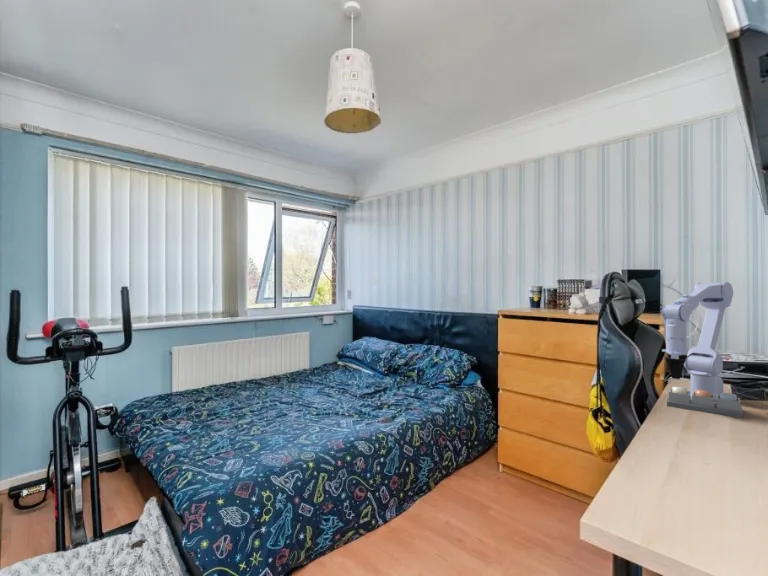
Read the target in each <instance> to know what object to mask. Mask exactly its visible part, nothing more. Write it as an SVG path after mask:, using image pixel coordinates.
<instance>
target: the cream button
mask: <svg viewBox="0 0 768 576" xmlns="http://www.w3.org/2000/svg"><path fill="white" fill-rule="evenodd" d="M671 389H672V392H674V393H681V394H687V391H688V388H686V387H683V386H672V387H671Z"/></svg>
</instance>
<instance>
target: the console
mask: <svg viewBox="0 0 768 576" xmlns="http://www.w3.org/2000/svg"><path fill="white" fill-rule="evenodd" d="M690 394H691V390H690V391H689V390H687V394H681V393H674V392H672V388H670V389H669V391H668V399H667V401H666V406H667V407H672V408H679V409H683V410H684V409H685V410H690V411H691V410H692V411H695V412H696V411H697V412H703V413H704V412H705V413H709V414H715V415H723V416H728V417H734V418H741V419H744V412H743V408H742V406H741V405H742V402H741V398H740V397H737V401H732V400H724V399H720V395H717V401H716V402H715V401H714V395H712V394H711V398H710V397H703V396H696V395H695V392H693V393H692V398H691V395H690Z"/></svg>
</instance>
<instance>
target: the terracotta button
mask: <svg viewBox="0 0 768 576" xmlns="http://www.w3.org/2000/svg"><path fill="white" fill-rule="evenodd" d="M695 395H696V396H703V397H710V398H711V392H710V391H707V390H695Z"/></svg>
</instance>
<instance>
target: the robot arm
mask: <svg viewBox="0 0 768 576" xmlns="http://www.w3.org/2000/svg"><path fill="white" fill-rule="evenodd" d="M733 297H734V287H733V285H732V284H731V283H730V282H729V281H724V282H697V283H696V284H695V285H694V288H693V291H692V292H690V294H682V295H681V297H679V298H678V299H676V300H675V301H674V302H672V303H669V304H666V305H664V306H663V307H662V309H661V316H662V319H663V323H664V325H665V346H666V347H665V348H664V349H663V348H662V349H661V352H662V353H663V352H664V353H666V354H667V356H665V358H664V359H665V362H666V363H667V365H668V367H669V372H670V376H671V378H672V379H674V380H675V379H676V380H681V377H682V374H683V370H684V368H685V369H686V370H687V372H688V373H689V374H690V395H691V399H692V393H693V392H695V390H707V391H710V392H711V394H712V395H714V402H717V395H720V393H724V380H723V379H722V377H721V376H719V375H721V373H723V369H724V364H723V361H724V357H723V355H722V354H721V353H719V352H718V351H717V350H716V349H717V348H716V347H717V343H718V340H719V336H720V335H719V334H720V331H721V326H722V324H723V319H724V314H725V311H726V308H728V307H730V306H731V304H732V302H733V301H732V300H733ZM699 305H701V306H702V307H705V308H706V311H705V316H704V318H703V319H704V320H703V324H702V328H701V331H700V336H699V340H698V342H697V346H695V347H692V348H691V349H689V350H688V344H687V343H688V341H687V337H688V335H687V321H689V320H690V317H691V315H692V313H693V311H695V310H696V309H698V307H699Z"/></svg>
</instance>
